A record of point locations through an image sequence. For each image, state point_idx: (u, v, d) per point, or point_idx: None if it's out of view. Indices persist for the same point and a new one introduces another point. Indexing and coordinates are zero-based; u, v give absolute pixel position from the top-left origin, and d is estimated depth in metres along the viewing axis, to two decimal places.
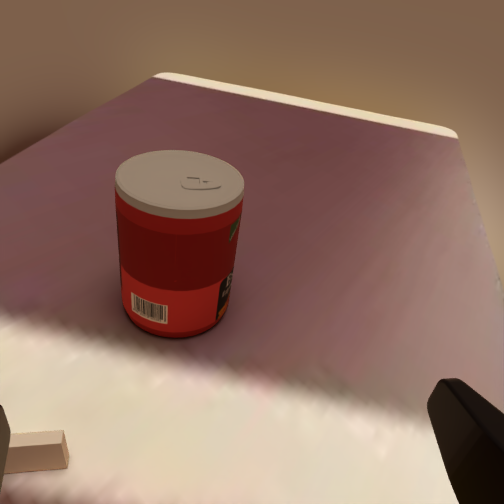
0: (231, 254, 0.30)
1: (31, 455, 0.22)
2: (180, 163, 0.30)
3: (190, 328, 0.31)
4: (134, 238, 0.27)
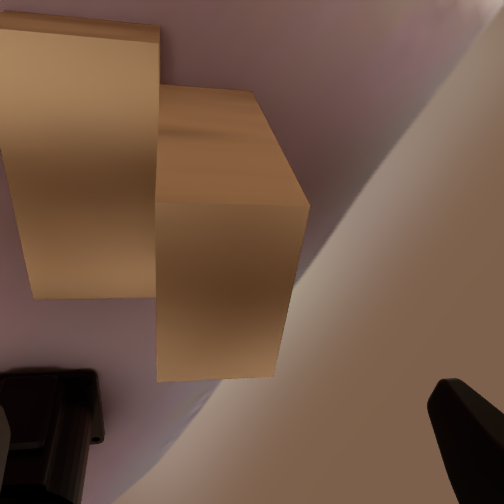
0: None
1: None
2: None
3: None
4: None
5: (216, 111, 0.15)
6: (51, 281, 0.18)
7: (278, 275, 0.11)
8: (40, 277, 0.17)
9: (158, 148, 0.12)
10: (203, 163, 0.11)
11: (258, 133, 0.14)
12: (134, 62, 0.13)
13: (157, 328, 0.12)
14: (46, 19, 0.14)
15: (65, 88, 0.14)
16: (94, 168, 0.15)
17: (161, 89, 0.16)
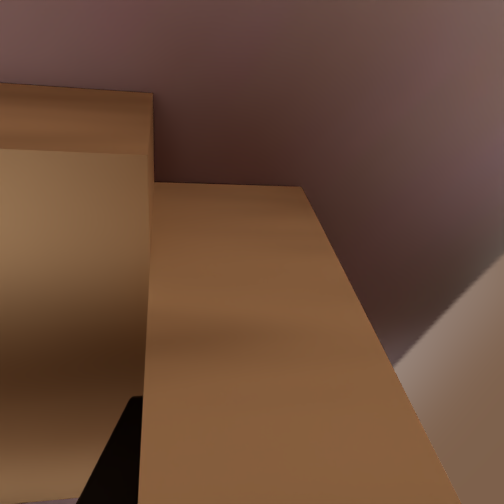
0: None
1: None
2: None
3: None
4: None
5: (253, 253, 0.08)
6: None
7: None
8: None
9: (144, 417, 0.05)
10: (250, 478, 0.05)
11: (340, 320, 0.07)
12: (100, 189, 0.07)
13: None
14: None
15: None
16: (37, 349, 0.09)
17: (155, 196, 0.10)
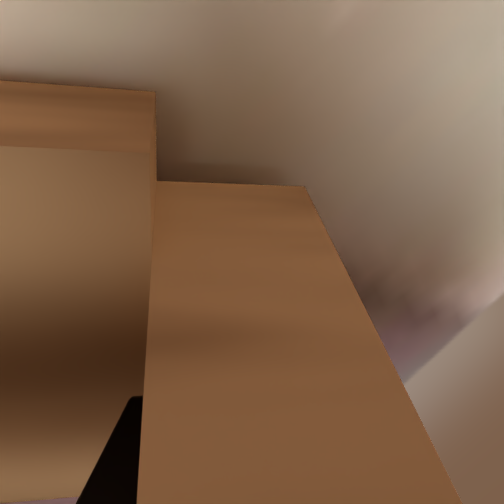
0: None
1: None
2: None
3: None
4: None
5: (256, 253, 0.08)
6: None
7: None
8: None
9: (144, 416, 0.05)
10: (249, 478, 0.05)
11: (342, 320, 0.07)
12: (102, 187, 0.07)
13: None
14: None
15: None
16: (38, 348, 0.09)
17: (158, 194, 0.10)
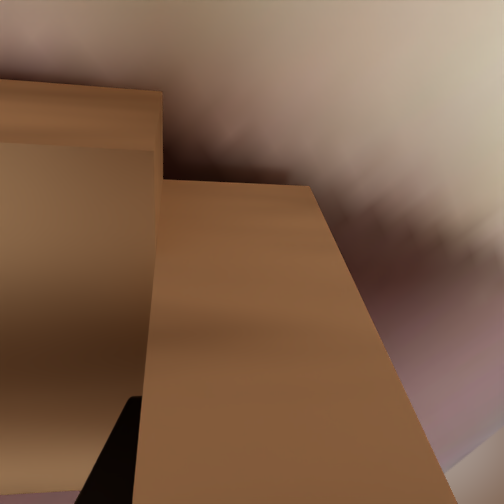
0: None
1: None
2: None
3: None
4: None
5: (258, 250, 0.08)
6: None
7: None
8: None
9: (143, 407, 0.05)
10: (244, 471, 0.05)
11: (342, 318, 0.07)
12: (107, 184, 0.07)
13: None
14: None
15: None
16: (45, 342, 0.09)
17: (164, 193, 0.10)
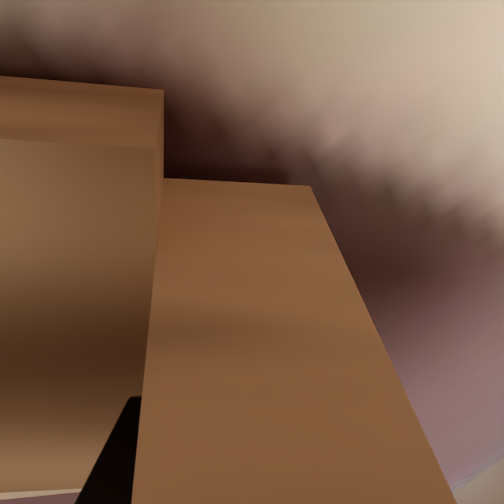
0: None
1: None
2: None
3: None
4: None
5: (258, 250, 0.08)
6: None
7: None
8: None
9: (143, 405, 0.05)
10: (243, 468, 0.05)
11: (342, 318, 0.07)
12: (108, 181, 0.07)
13: None
14: None
15: None
16: (44, 339, 0.09)
17: (164, 191, 0.10)
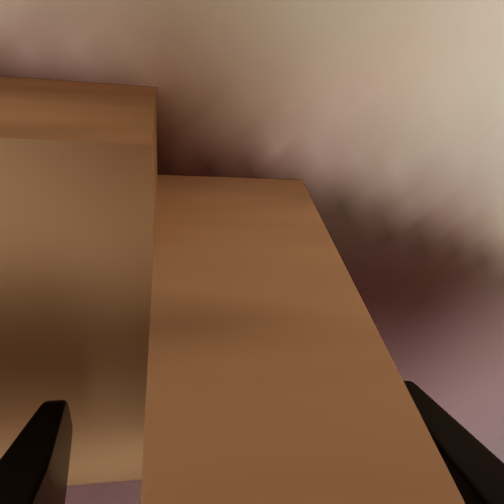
0: None
1: None
2: None
3: None
4: None
5: (254, 243, 0.09)
6: None
7: None
8: None
9: (148, 393, 0.06)
10: (248, 450, 0.05)
11: (336, 306, 0.07)
12: (106, 178, 0.07)
13: None
14: None
15: None
16: (43, 336, 0.09)
17: (158, 187, 0.10)
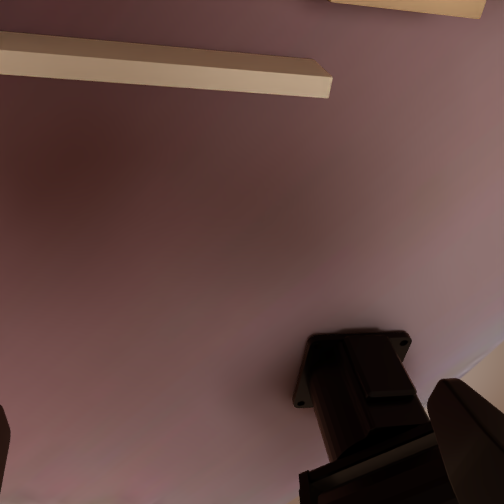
0: None
1: None
2: None
3: None
4: None
5: None
6: None
7: None
8: None
9: None
10: None
11: None
12: None
13: None
14: None
15: None
16: None
17: None
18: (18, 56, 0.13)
